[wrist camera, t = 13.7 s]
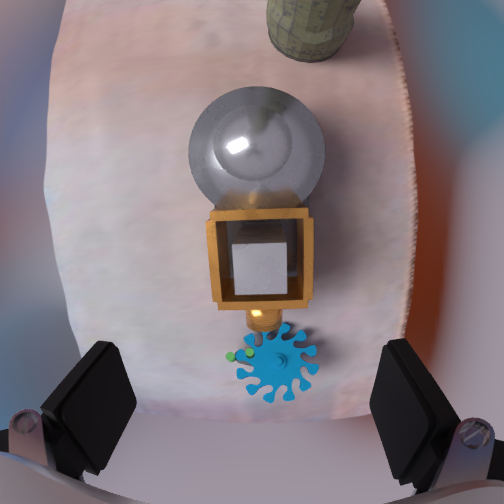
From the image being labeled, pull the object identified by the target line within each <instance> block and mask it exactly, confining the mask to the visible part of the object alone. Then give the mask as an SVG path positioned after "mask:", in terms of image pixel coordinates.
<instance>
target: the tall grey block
mask: <svg viewBox="0 0 504 504" xmlns="http://www.w3.org/2000/svg"><path fill="white" fill-rule="evenodd" d="M232 255H233V270H234V284H235V295H252V294H287V243H286V239H285V235H284V232H283V228H282V224H281V222H254V223H243V225H242V226H241V228H240V230H239V232H238V234H237V236H236V238H235V239H234V241H233V243H232Z"/></svg>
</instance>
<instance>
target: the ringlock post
mask: <svg viewBox="0 0 504 504" xmlns="http://www.w3.org/2000/svg"><path fill="white" fill-rule="evenodd" d="M188 156H189V164H190V168H191V172H192V175H193V177H194V180H195V182H196V183H197V185H198V187H199V189H200V190H201V191H202V193H203V194H204V195H205V196H206V197H207V198H208V199H209V200H210V201H211V202H212V203H213V204H215V209H213V210H212V211H210V219H209V220H207V221H206V233H207V245H208V257H209V268H210V278H211V288H212V297H213V302H218V310H246V324H247V327H248V328H249V329H251V330H253V331H257V332H270V331H274V330H276V329H278V328H280V327H281V326H282V309H298V308H308V300H313V259H314V218H313V217H312V216H311V215H310V214H309V209H308V196H309V194H310V193H311V192H312V191H313V189H314V188H315V186H316V185H317V183H318V181H319V179H320V176H321V174H322V170H323V167H324V161H325V144H324V138H323V134H322V131H321V129H320V126H319V124H318V122H317V120H316V119H315V117H314V116H313V114H312V113H311V112H310V110H309V109H308V108H307V107H306V106H305V105H304V104H303V103H302V102H300V101H299V100H298V99H296V98H295V97H293V96H291V95H290V94H288V93H285V92H283V91H280V90H277V89H274V88H269V87H259V86H253V87H244V88H240V89H236V90H233V91H231V92H228V93H226V94H224V95H222V96H221V97H219V98H218V99H216V100H215V101H213V102H212V103H211V104H210V105H209V106H208V107H207V108H206V109H205V110H204V111H203V113H202V114H201V115H200V117H199V118H198V120H197V121H196V123H195V126H194V128H193V130H192V133H191V137H190V142H189V155H188ZM254 222H281V224H282V228H283V232H284V235H285V239H286V243H287V294H252V295H235V284H234V270H233V255H232V243H233V241H234V239H235V238H236V236H237V234H238V232H239V230H240V228H241V226H242V225H243V223H254Z"/></svg>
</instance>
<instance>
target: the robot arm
mask: <svg viewBox="0 0 504 504" xmlns="http://www.w3.org/2000/svg"><path fill="white" fill-rule="evenodd" d="M136 404H137V401H136V397H135V394H134V392H133V389H132V387H131V384H130V381H129V378H128V376H127V373H126V370H125V367H124V364H123V361H122V358H121V355H120V352H119V349H118V348H117V347H116V346H115V345H114V344H113V343H112V342H107V341H97V342H96V343H95V344H94V345H93V346H92V348H91V349H90V350H89V351H88V352H87V353H86V354H85V355H84V356H83V358H82V359H81V360H80V361H79V362H78V363H77V364H76V366H75V367H74V368H73V369H72V370H71V371H70V372H69V374H68V375H67V376H66V377H65V379H63V381H62V382H61V383H60V384H59V385H58V386H57V388H56V389H55V390H54V391H53V392H52V394H51V395H50V396H49V397H48V398H47V400H46V401H45V402H44V403H43V404H42V406H41V407H40V408H41V410H42V411H43V414H42V415H40V414H39V413H38V412H37V411H36V410H33V409H24V410H21V411H19V412H17V413H16V414H14V416H13V417H12V418H11V420H10V422H9V429H5V430H1V431H0V504H148V503H144V502H140V501H137V500H133V499H129V498H126V497H123V496H120V495H116V494H113V493H110V492H108V491H105V490H102V489H99V488H96V487H93V486H91V485H89V484H86V483H85V481H84V478H83V474H82V473H83V471H84V470H85V471H86V472H89V473H92V474H94V475H97V476H98V475H99V473H100V471H101V470H104V469H105V467H106V465H107V463H108V461H109V459H110V457H111V455H112V453H113V451H114V449H115V447H116V445H117V443H118V441H119V439H120V437H121V435H122V433H123V431H124V429H125V427H126V425H127V423H128V421H129V419H130V417H131V416H132V414H133V412H134V410H135V408H136ZM370 410H371V413H372V415H373V418H374V421H375V424H376V426H377V429H378V432H379V435H380V438H381V441H382V444H383V447H384V450H385V453H386V456H387V459H388V463H389V466H390V469H391V472H392V475H393V478H394V479H398V480H399V483H400V485H404V484H408V483H411V482H412V483H413V486H414V488H415V490H414V492H413V494H412V495H411V497H407V498H404V499H400V500H396V501H393V502H389V503H385V504H504V441H500V440H496V439H495V433H494V430H493V427H492V426H491V425H490V424H489V423H488V422H487V421H485V420H483V419H480V418H468V419H465V420H463V421H462V422H461V420H460V419H459V417H458V415H457V414H456V412H455V411H454V409H453V407H452V406H451V404H450V403H449V401H448V400H447V398H446V396H445V395H444V393H443V392H442V390H441V389H440V387H439V386H438V384H437V383H436V381H435V380H434V378H433V377H432V375H431V374H430V373H429V372H428V370H427V368H426V367H425V366H424V364H423V363H422V361H421V360H420V358H419V357H418V355H417V354H416V353H415V351H414V350H413V348H412V347H411V346H410V344H409V343H408V341H407V340H406V339H405V338H402V339H395V340H390V341H388V343H387V345H384V346H383V349H382V353H381V358H380V362H379V367H378V371H377V375H376V379H375V383H374V387H373V390H372V394H371V397H370Z"/></svg>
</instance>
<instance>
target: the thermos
mask: <svg viewBox="0 0 504 504" xmlns="http://www.w3.org/2000/svg"><path fill="white" fill-rule="evenodd" d="M360 1H361V0H268V2H267V25H268V28H269V30H268V34H269V37H270V40H271V43H272V44H273V45H274V46H275V48H276V49H277V50H278V51H279V52H281V53H282V54H283V55H285V56H286V57H289V58H291V59H294V60H296V61H301V62H308V63H312V62H321V61H323V60H326V59H328V58H330V57H331V56H333V55H334V54H335V53H336V52H337V51H338V49H339V47H340V46H341V45H342V44H343V43H344V41H345V40H346V38H347V36H348V35H349V33H350V31H351V29H352V27H353V24H354V22H353V14H354V12H355V10H356V9H357V7H358V5H359V3H360Z"/></svg>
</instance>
